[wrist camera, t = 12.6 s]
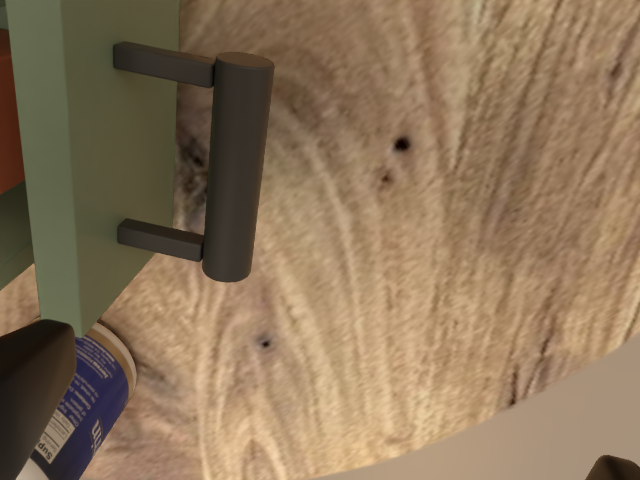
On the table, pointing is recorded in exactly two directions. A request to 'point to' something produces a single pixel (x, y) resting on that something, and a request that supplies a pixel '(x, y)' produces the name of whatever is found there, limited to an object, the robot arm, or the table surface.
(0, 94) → the block
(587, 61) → the table surface
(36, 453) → the pill bottle
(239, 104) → the drawer
